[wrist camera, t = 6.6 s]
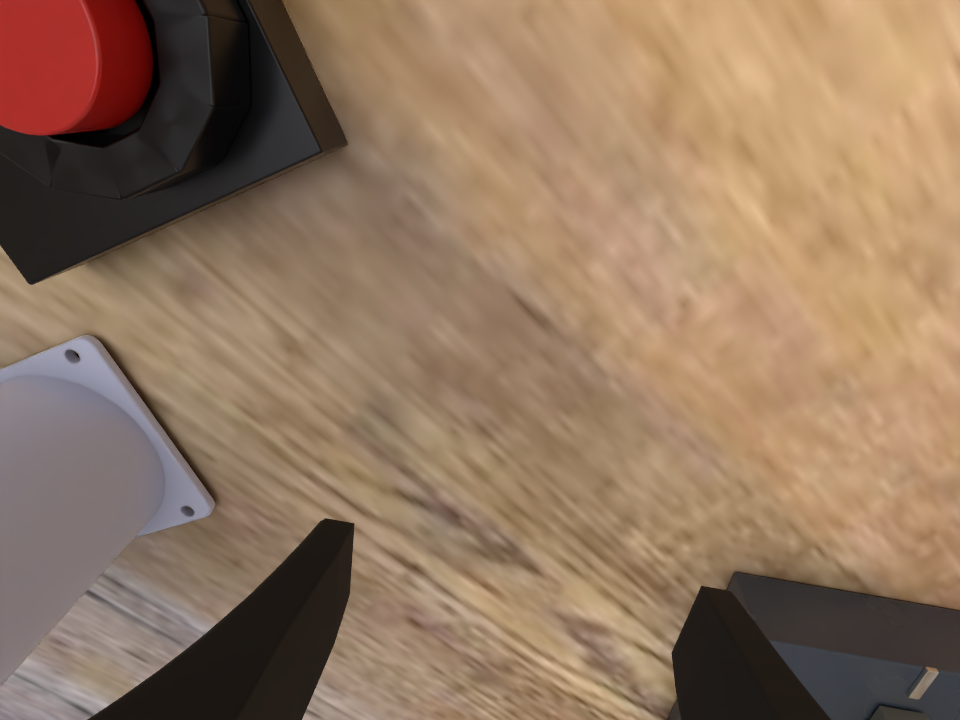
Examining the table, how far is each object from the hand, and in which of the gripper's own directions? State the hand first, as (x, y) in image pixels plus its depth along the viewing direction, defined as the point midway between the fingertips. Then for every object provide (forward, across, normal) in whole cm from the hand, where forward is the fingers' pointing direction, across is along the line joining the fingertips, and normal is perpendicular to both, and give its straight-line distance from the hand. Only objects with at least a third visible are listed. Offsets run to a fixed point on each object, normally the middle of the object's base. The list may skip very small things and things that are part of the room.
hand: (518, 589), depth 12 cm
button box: (+8, +13, -8) cm, 17 cm away
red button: (+5, +11, -9) cm, 15 cm away
